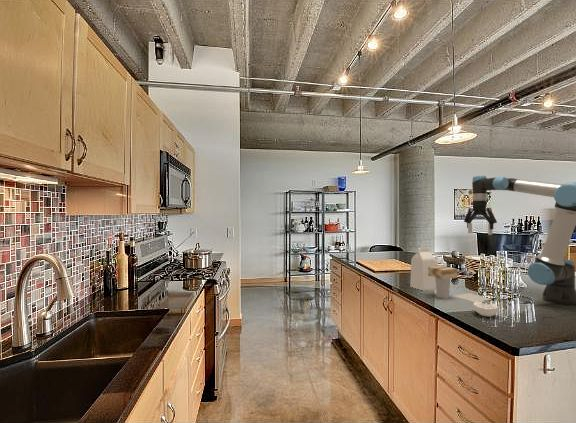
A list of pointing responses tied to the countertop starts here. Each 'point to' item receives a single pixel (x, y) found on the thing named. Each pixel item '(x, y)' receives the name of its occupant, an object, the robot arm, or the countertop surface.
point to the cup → (442, 287)
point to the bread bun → (442, 272)
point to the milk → (422, 270)
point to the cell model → (486, 308)
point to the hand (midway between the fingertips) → (479, 234)
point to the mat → (472, 297)
